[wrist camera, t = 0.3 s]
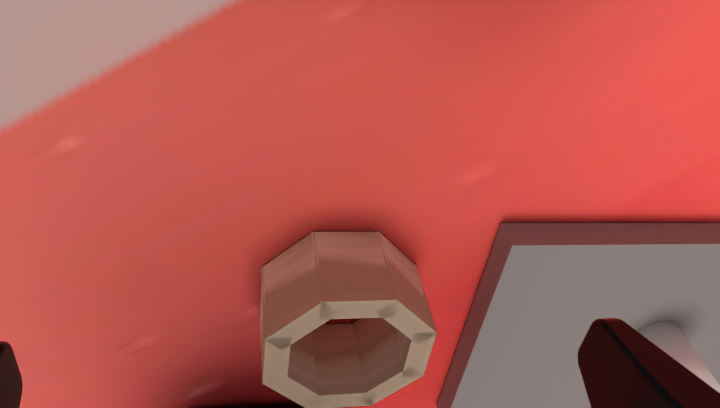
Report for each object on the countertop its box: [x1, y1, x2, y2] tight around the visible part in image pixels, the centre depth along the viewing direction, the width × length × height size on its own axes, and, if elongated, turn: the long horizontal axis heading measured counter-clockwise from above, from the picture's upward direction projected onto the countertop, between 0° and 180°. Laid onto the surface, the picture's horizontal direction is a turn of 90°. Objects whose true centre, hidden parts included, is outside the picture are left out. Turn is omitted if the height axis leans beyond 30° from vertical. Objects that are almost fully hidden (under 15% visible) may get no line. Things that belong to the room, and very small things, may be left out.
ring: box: [259, 231, 437, 408], centre depth 27 cm, size 7×7×4 cm
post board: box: [437, 223, 720, 408], centre depth 32 cm, size 14×20×6 cm
